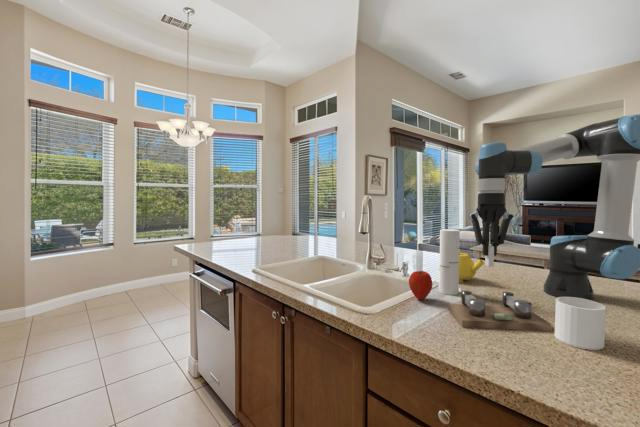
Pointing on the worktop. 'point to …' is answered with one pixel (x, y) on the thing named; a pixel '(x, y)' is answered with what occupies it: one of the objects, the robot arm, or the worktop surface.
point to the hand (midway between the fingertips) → (489, 265)
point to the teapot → (467, 267)
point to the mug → (580, 322)
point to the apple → (420, 284)
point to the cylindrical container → (449, 262)
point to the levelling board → (492, 323)
